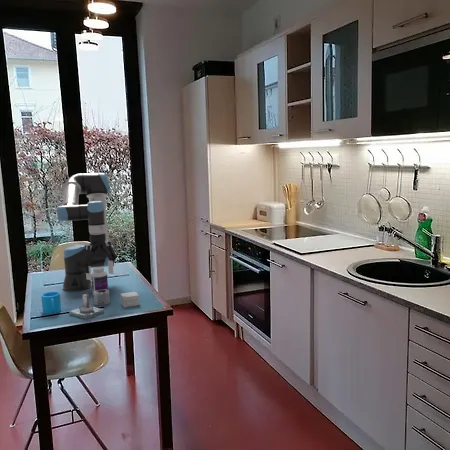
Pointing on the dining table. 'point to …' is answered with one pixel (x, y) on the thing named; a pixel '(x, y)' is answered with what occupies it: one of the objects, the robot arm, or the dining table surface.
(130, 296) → the small box
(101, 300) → the tube
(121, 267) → the dining table surface
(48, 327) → the dining table surface
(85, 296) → the block
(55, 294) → the mug
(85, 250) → the robot arm
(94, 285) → the pill bottle
